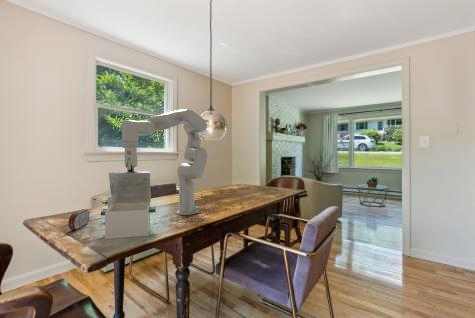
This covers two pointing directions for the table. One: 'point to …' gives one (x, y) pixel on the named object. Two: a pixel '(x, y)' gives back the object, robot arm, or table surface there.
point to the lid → (130, 187)
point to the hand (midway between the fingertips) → (131, 181)
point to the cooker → (127, 220)
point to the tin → (78, 219)
